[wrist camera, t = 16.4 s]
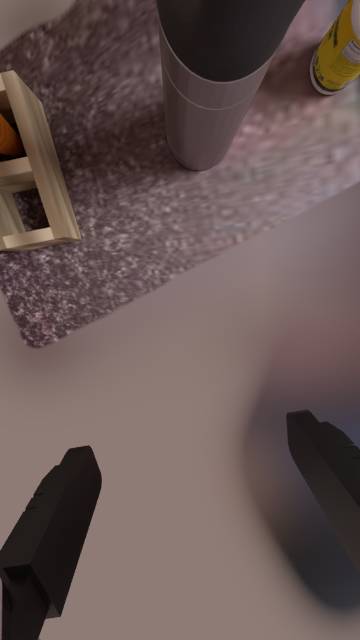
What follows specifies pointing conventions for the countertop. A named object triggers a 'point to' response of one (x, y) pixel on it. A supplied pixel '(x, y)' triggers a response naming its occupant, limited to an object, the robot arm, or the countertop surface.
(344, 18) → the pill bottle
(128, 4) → the countertop surface
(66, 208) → the frame
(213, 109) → the robot arm
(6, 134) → the carrot
